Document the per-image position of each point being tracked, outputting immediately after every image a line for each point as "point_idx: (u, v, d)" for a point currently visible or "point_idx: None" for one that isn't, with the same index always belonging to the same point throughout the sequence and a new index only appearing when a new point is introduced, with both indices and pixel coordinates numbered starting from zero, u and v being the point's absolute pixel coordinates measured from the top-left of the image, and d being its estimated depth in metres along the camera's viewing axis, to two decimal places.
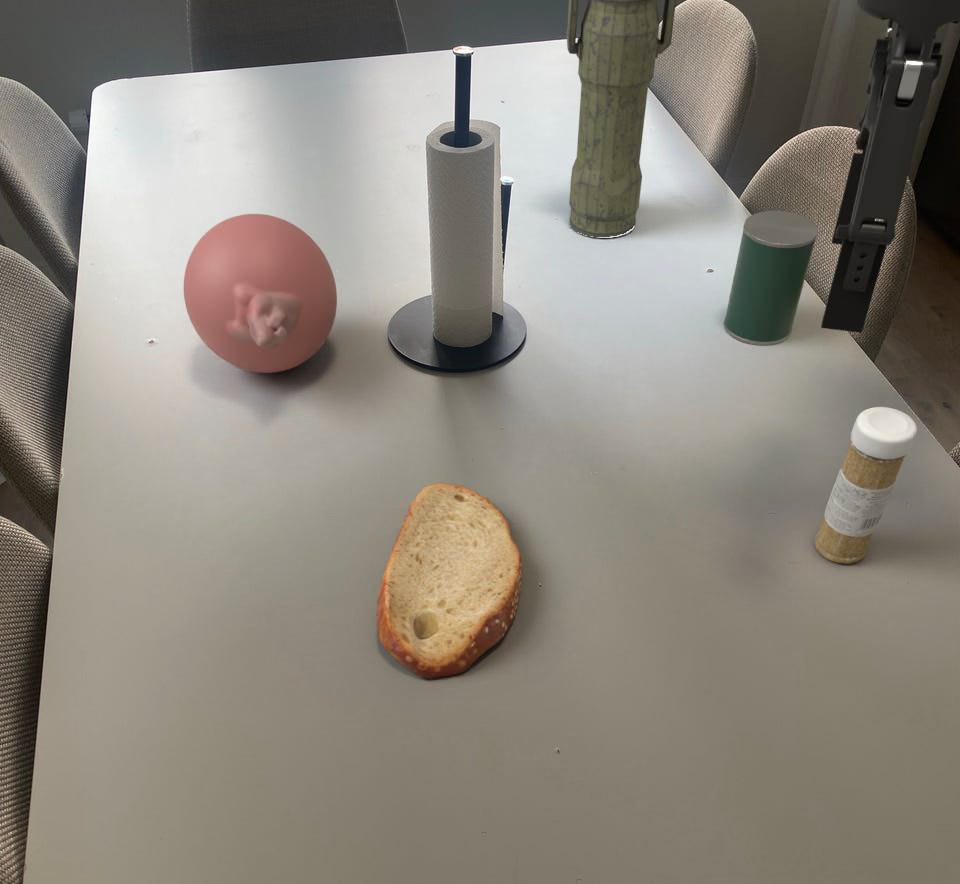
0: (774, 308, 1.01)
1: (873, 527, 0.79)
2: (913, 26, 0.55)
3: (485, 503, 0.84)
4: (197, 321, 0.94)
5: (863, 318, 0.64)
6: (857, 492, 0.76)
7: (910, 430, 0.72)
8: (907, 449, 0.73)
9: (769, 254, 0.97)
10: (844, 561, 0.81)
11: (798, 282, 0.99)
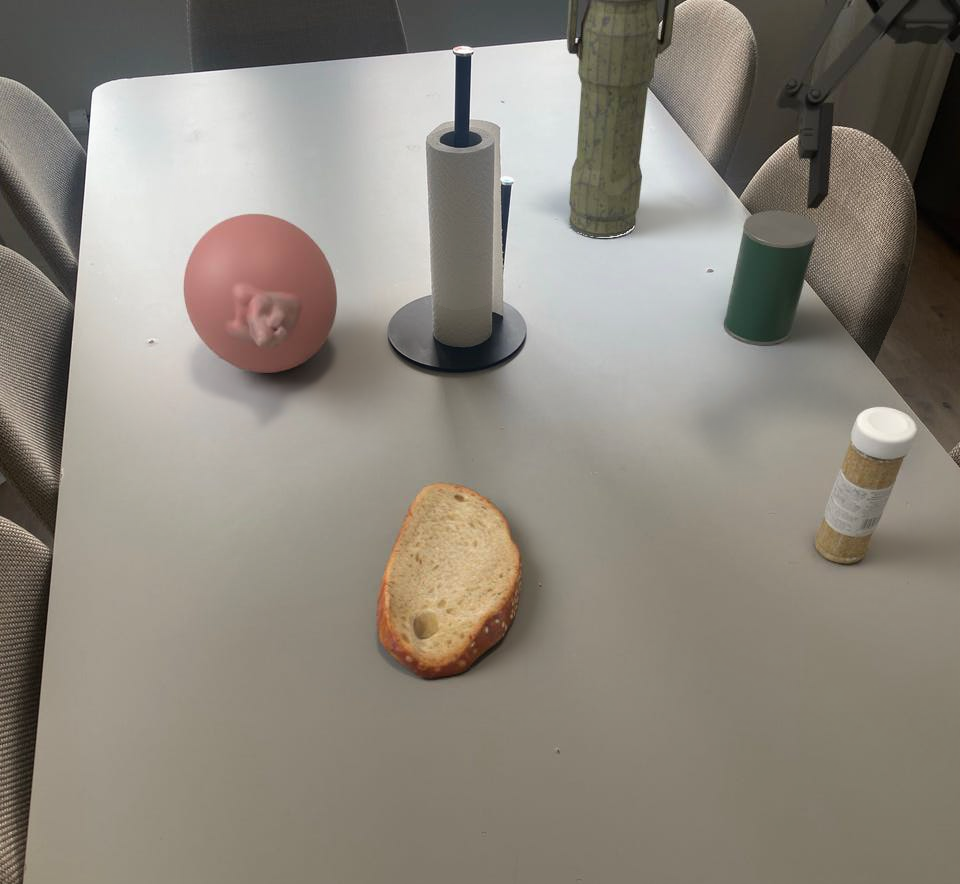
0: (774, 308, 1.01)
1: (873, 527, 0.79)
2: None
3: (485, 503, 0.84)
4: (197, 321, 0.94)
5: (818, 179, 0.69)
6: (857, 492, 0.76)
7: (910, 430, 0.72)
8: (907, 449, 0.73)
9: (769, 254, 0.97)
10: (844, 561, 0.81)
11: (798, 282, 0.99)
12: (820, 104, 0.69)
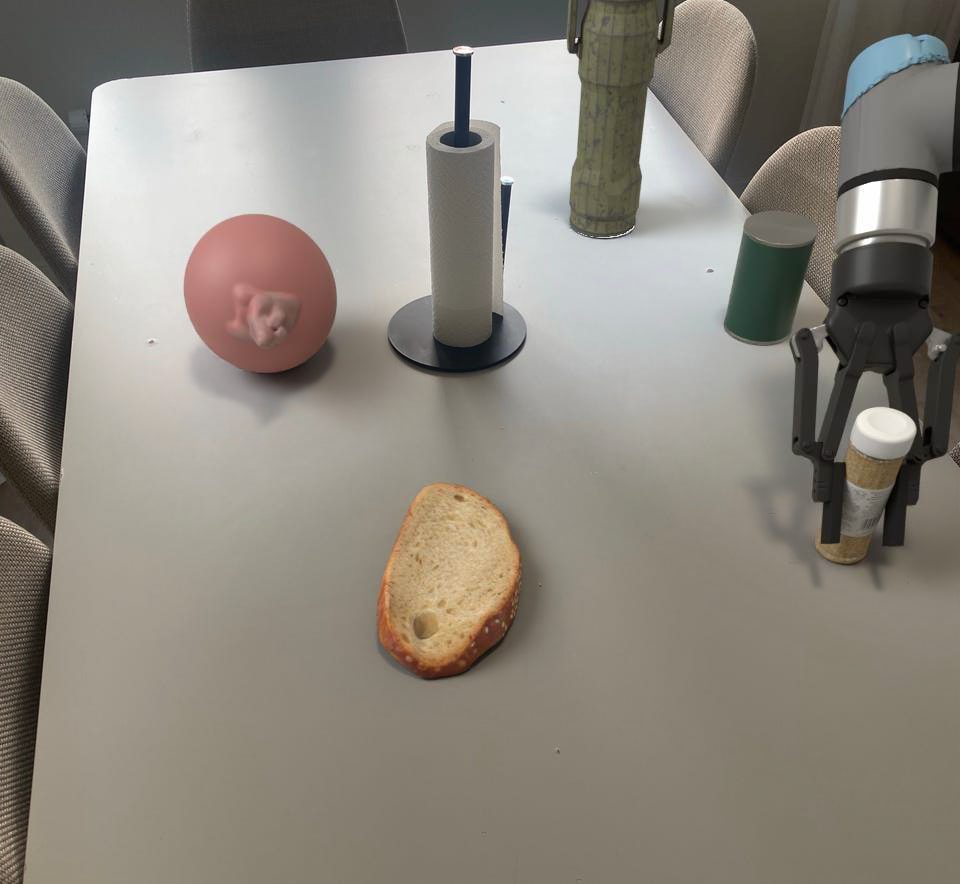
0: (774, 308, 1.01)
1: (873, 527, 0.79)
2: (830, 302, 0.77)
3: (485, 503, 0.84)
4: (197, 321, 0.94)
5: (830, 529, 0.76)
6: (857, 492, 0.76)
7: (909, 430, 0.72)
8: (907, 449, 0.73)
9: (769, 254, 0.97)
10: (844, 561, 0.81)
11: (798, 282, 0.99)
12: (833, 460, 0.76)
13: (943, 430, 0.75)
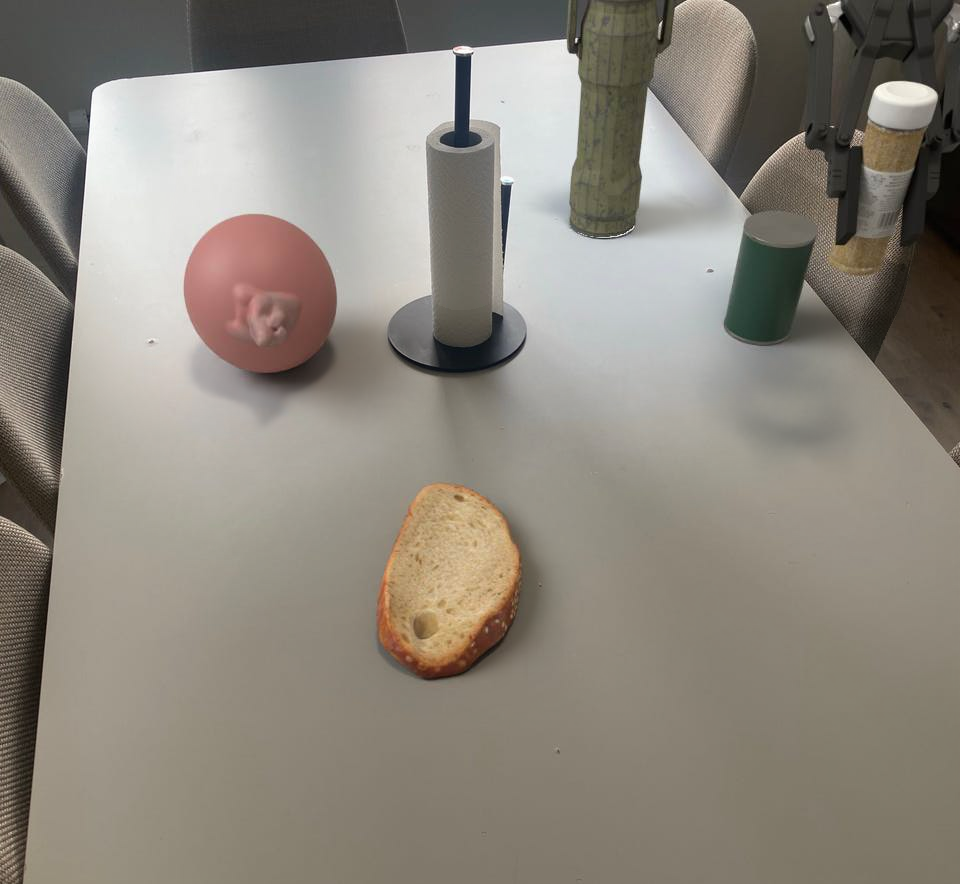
0: (774, 308, 1.01)
1: (890, 227, 0.75)
2: None
3: (485, 503, 0.84)
4: (197, 321, 0.94)
5: (846, 219, 0.73)
6: (874, 177, 0.72)
7: (931, 96, 0.68)
8: (928, 118, 0.69)
9: (769, 254, 0.97)
10: (859, 272, 0.77)
11: (798, 282, 0.99)
12: (849, 147, 0.73)
13: None
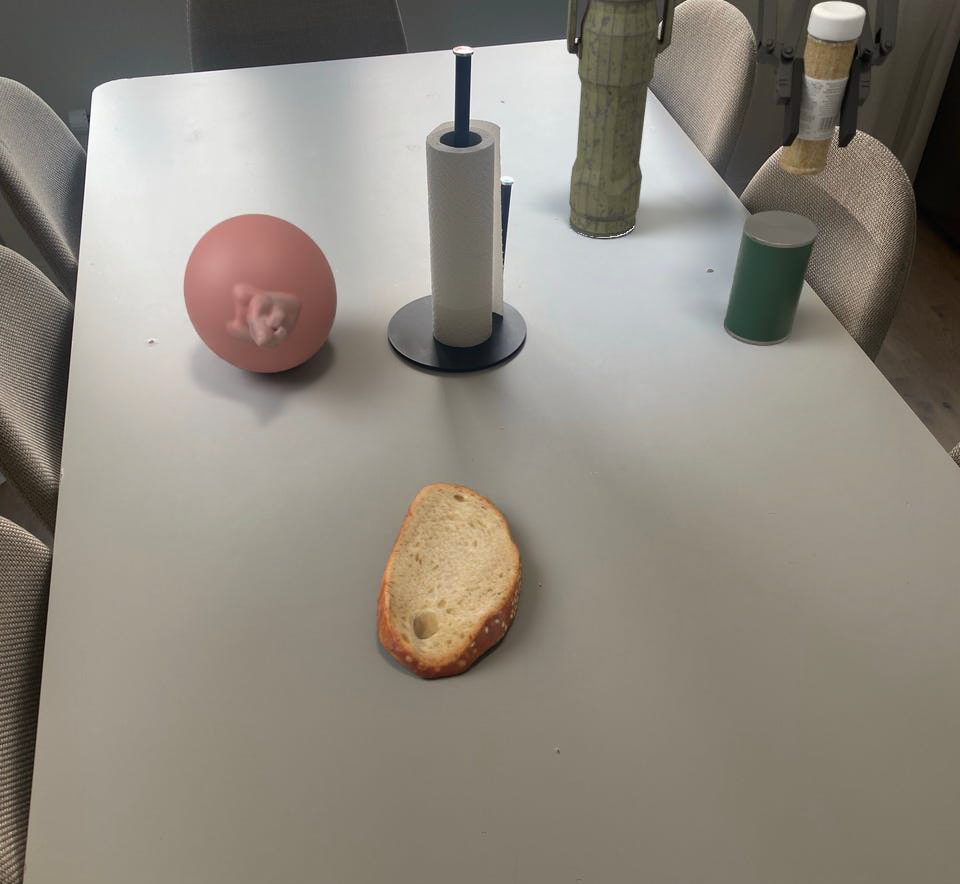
0: (774, 308, 1.01)
1: (830, 130, 0.87)
2: None
3: (485, 503, 0.84)
4: (197, 321, 0.94)
5: (790, 121, 0.85)
6: (814, 85, 0.84)
7: (859, 11, 0.81)
8: (857, 31, 0.81)
9: (769, 254, 0.97)
10: (805, 172, 0.90)
11: (798, 282, 0.99)
12: (792, 59, 0.85)
13: (891, 27, 0.84)
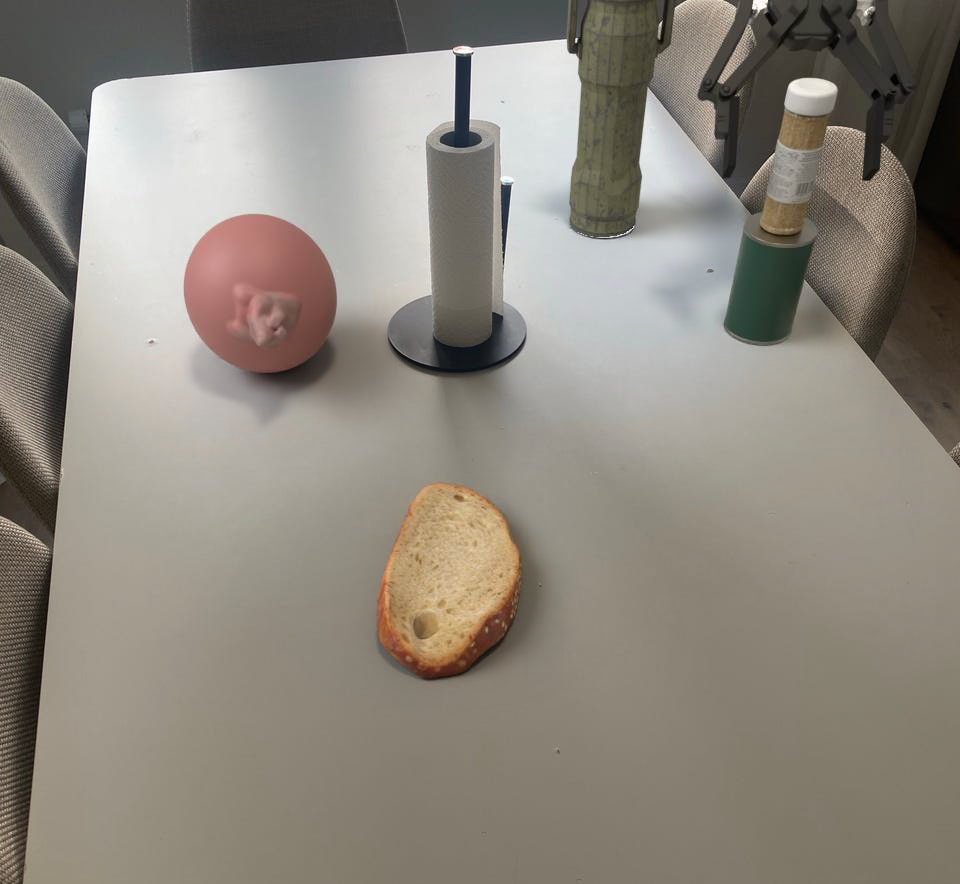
0: (774, 308, 1.01)
1: (806, 195, 0.94)
2: None
3: (485, 503, 0.84)
4: (197, 321, 0.94)
5: (728, 155, 0.91)
6: (791, 154, 0.91)
7: (831, 89, 0.87)
8: (829, 106, 0.88)
9: (769, 254, 0.97)
10: (783, 232, 0.96)
11: (798, 282, 0.99)
12: (730, 97, 0.91)
13: (905, 70, 0.89)
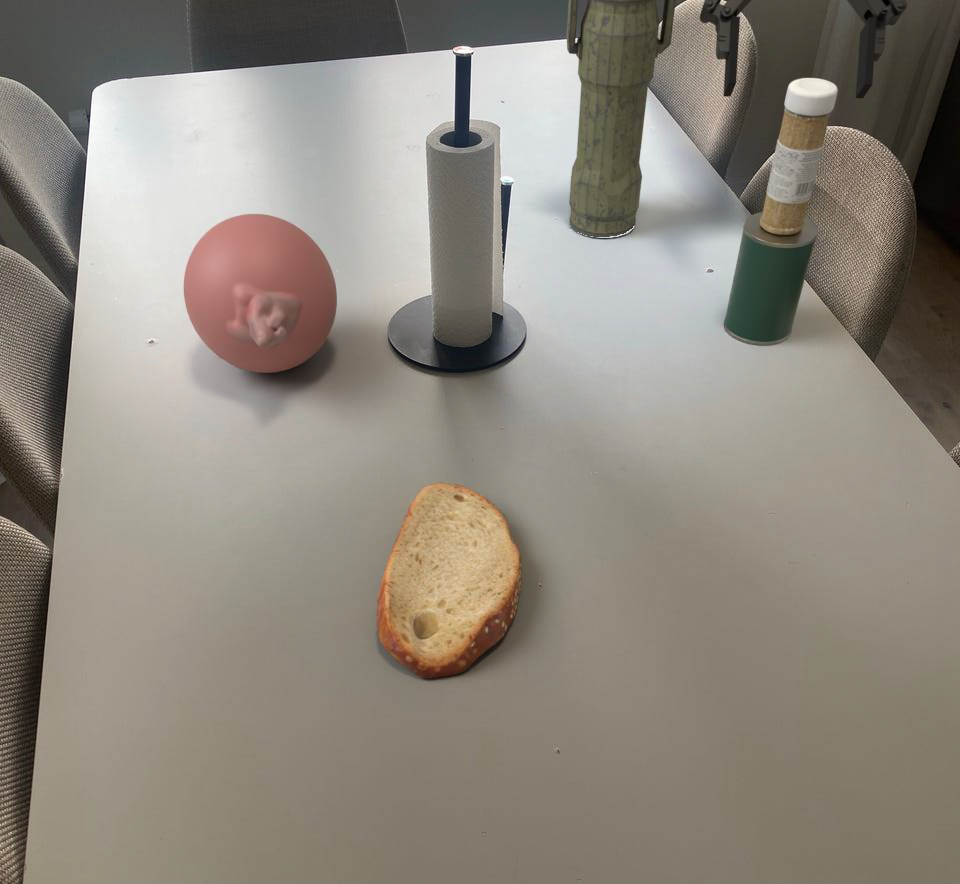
0: (774, 308, 1.01)
1: (806, 195, 0.94)
2: None
3: (485, 503, 0.84)
4: (197, 321, 0.94)
5: (729, 72, 0.96)
6: (791, 154, 0.91)
7: (831, 89, 0.87)
8: (829, 106, 0.88)
9: (769, 254, 0.97)
10: (783, 232, 0.96)
11: (798, 282, 0.99)
12: (730, 18, 0.96)
13: None
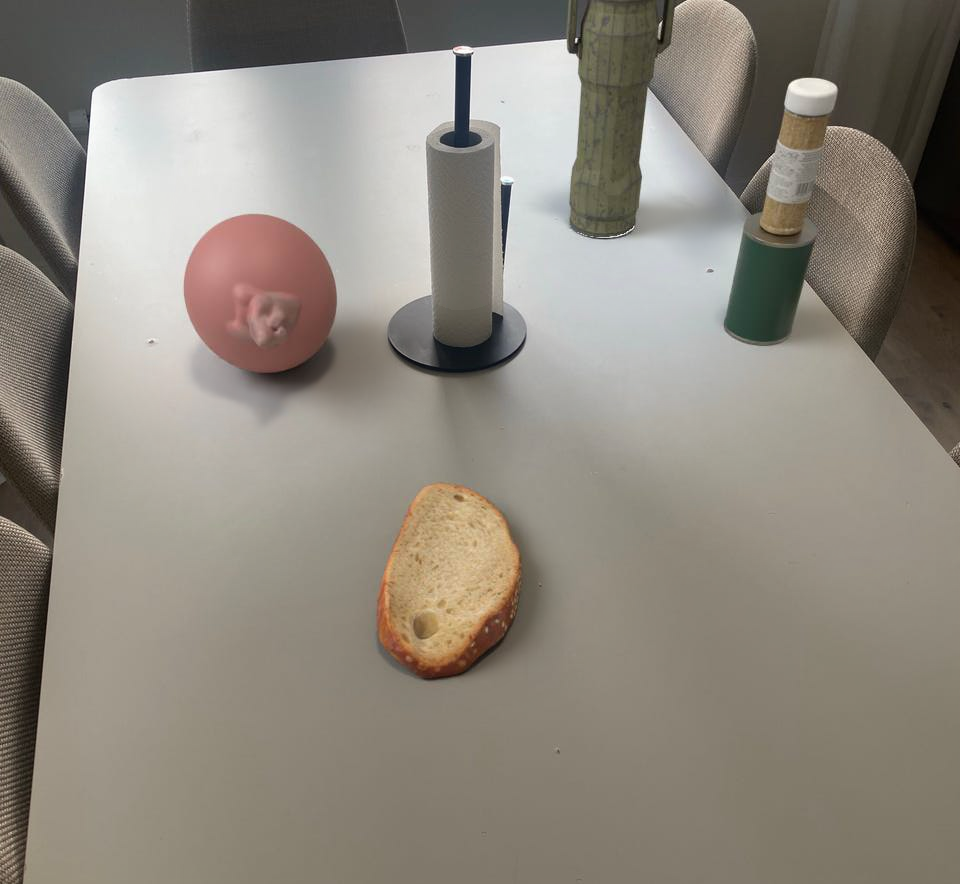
0: (774, 308, 1.01)
1: (806, 195, 0.94)
2: None
3: (485, 503, 0.84)
4: (197, 321, 0.94)
5: None
6: (791, 154, 0.91)
7: (831, 89, 0.87)
8: (829, 106, 0.88)
9: (769, 254, 0.97)
10: (783, 232, 0.96)
11: (798, 282, 0.99)
12: None
13: None
